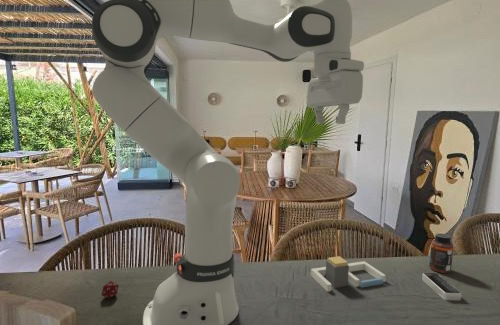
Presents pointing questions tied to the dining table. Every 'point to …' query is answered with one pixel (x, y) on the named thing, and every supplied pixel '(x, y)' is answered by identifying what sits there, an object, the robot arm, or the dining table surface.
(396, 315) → the dining table surface
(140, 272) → the dining table surface
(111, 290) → the dice
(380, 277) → the white e-shaped frame
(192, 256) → the robot arm
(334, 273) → the grey tan-topped block
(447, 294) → the multiport hub
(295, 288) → the dining table surface
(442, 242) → the supplement bottle
